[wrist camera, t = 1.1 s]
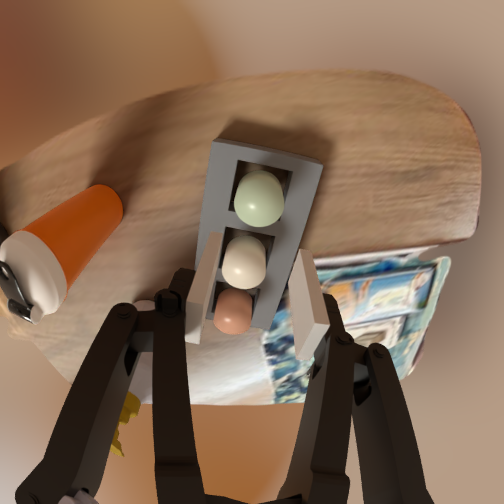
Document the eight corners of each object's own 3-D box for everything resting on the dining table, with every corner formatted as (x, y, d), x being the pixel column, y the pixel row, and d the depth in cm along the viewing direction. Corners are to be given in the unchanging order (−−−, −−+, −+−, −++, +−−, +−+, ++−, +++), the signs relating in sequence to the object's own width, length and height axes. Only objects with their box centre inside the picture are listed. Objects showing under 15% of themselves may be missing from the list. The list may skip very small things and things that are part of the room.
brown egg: (215, 310, 39) (211, 330, 35) (220, 284, 36) (215, 304, 33) (248, 316, 39) (247, 336, 35) (255, 291, 36) (254, 311, 33)
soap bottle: (130, 335, 48) (86, 446, 26) (113, 284, 41) (43, 408, 20) (192, 344, 48) (164, 470, 26) (184, 292, 41) (137, 444, 20)
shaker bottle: (125, 176, 32) (20, 258, 15) (133, 236, 36) (59, 341, 19) (74, 179, 32) (-27, 250, 15) (85, 234, 36) (6, 322, 19)
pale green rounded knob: (234, 206, 30) (230, 221, 27) (242, 166, 28) (239, 175, 25) (276, 215, 31) (277, 231, 27) (286, 175, 28) (289, 186, 25)
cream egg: (223, 265, 34) (219, 284, 31) (229, 231, 32) (225, 249, 29) (260, 272, 35) (260, 292, 31) (269, 239, 32) (270, 257, 29)
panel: (194, 302, 42) (190, 315, 39) (216, 137, 29) (212, 141, 27) (269, 316, 43) (269, 329, 40) (318, 159, 30) (323, 165, 28)
